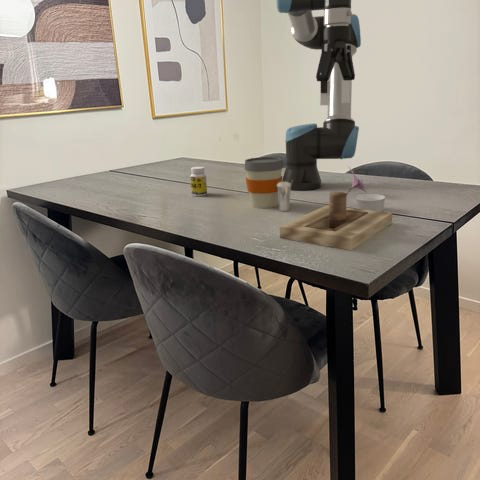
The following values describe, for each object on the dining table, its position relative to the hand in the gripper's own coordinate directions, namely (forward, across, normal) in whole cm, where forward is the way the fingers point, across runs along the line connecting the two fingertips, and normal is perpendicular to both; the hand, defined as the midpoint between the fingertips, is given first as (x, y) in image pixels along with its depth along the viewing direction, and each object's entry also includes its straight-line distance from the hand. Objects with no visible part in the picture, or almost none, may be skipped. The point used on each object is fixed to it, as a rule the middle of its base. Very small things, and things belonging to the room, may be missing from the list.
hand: (335, 104), depth 142 cm
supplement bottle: (+32, -5, +53) cm, 62 cm away
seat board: (+32, -22, -12) cm, 40 cm away
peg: (+32, -22, -12) cm, 40 cm away
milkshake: (+32, -10, +12) cm, 36 cm away
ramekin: (+32, +2, -11) cm, 34 cm away
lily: (+32, +19, 0) cm, 37 cm away
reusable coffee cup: (+32, -7, +22) cm, 39 cm away
